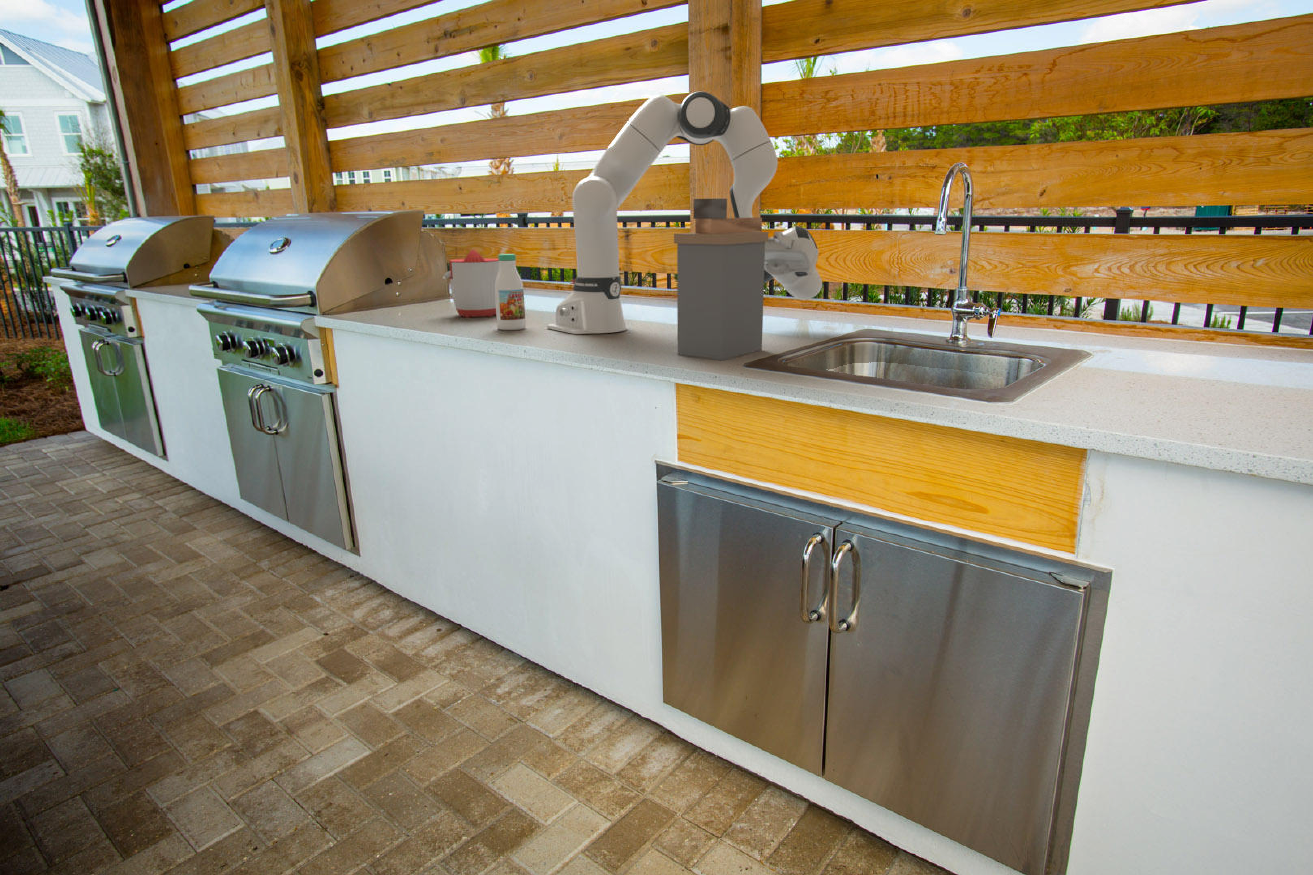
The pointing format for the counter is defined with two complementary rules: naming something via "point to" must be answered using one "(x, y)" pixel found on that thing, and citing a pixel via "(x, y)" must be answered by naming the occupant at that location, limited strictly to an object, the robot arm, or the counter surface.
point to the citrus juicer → (473, 284)
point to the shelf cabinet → (720, 293)
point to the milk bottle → (509, 295)
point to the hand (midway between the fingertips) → (758, 234)
